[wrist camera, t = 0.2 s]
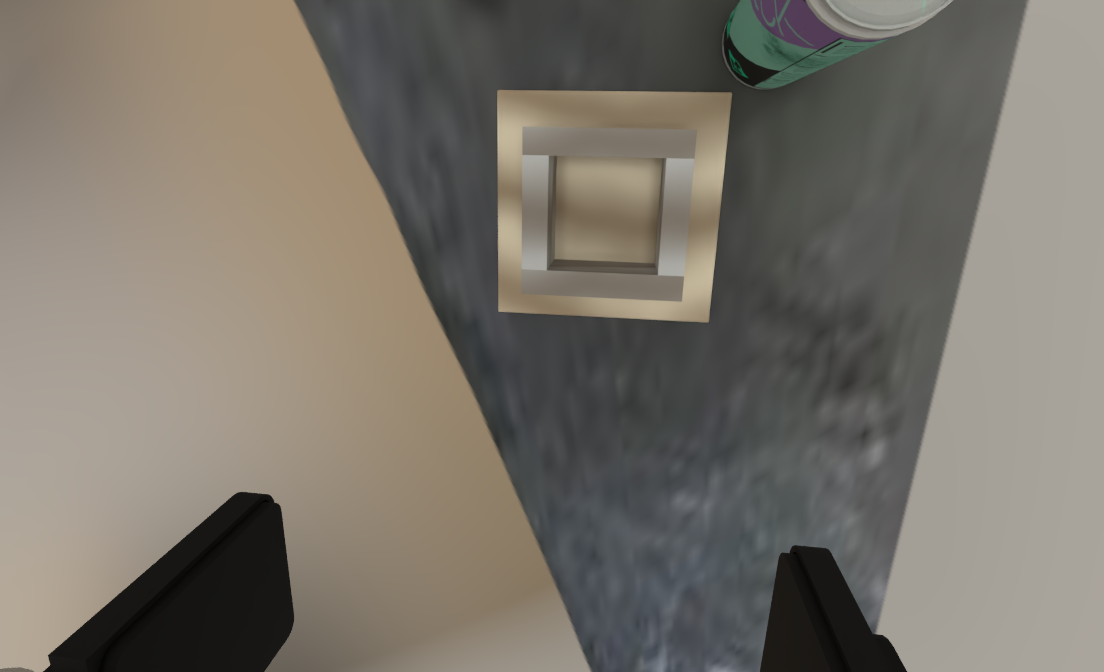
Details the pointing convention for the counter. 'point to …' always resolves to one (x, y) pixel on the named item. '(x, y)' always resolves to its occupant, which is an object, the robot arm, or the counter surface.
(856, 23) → the spray can
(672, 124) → the collar block
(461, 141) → the counter surface
